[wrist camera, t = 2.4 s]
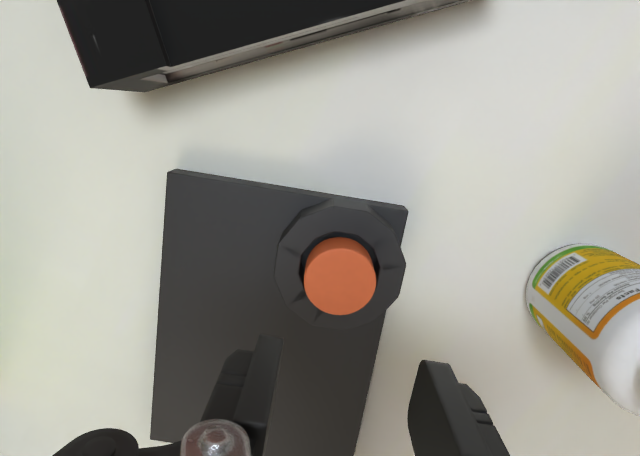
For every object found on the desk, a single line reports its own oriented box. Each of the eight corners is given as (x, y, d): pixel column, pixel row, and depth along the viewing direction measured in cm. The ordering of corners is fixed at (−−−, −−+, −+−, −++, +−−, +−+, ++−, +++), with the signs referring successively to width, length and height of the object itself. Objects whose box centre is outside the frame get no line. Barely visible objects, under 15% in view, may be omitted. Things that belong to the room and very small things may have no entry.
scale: (175, 167, 22) (151, 176, 19) (405, 204, 22) (417, 219, 19) (157, 425, 26) (136, 464, 23) (350, 454, 27) (353, 496, 24)
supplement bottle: (613, 333, 24) (794, 477, 15) (516, 331, 24) (635, 473, 15) (633, 241, 23) (848, 336, 13) (530, 240, 23) (671, 333, 13)
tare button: (311, 231, 20) (309, 242, 18) (378, 242, 20) (383, 254, 18) (301, 293, 21) (298, 310, 19) (365, 303, 21) (368, 321, 19)
